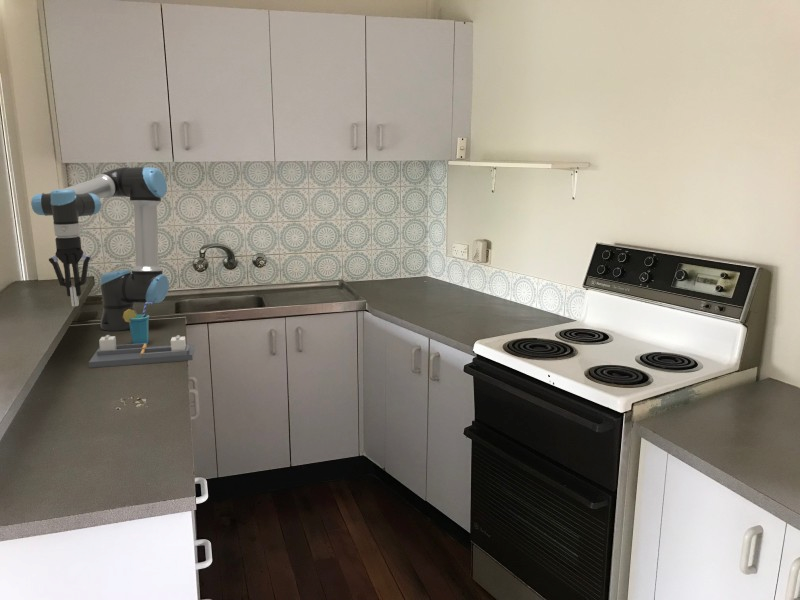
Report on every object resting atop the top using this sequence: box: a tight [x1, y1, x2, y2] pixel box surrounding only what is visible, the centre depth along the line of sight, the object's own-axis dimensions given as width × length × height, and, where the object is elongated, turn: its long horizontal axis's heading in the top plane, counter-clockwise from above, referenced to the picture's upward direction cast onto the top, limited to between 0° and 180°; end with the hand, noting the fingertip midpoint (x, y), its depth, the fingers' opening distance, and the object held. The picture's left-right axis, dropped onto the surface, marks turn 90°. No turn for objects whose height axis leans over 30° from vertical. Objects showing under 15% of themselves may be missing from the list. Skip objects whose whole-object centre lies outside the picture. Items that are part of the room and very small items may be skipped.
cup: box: [123, 302, 154, 345], centre depth 251 cm, size 14×8×15 cm, turn 157°
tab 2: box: [170, 334, 187, 351], centre depth 233 cm, size 4×4×6 cm
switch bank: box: [88, 343, 196, 369], centre depth 234 cm, size 14×33×4 cm, turn 104°
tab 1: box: [98, 334, 117, 351], centre depth 234 cm, size 4×4×6 cm
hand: (75, 305), depth 229 cm, fingers closed
